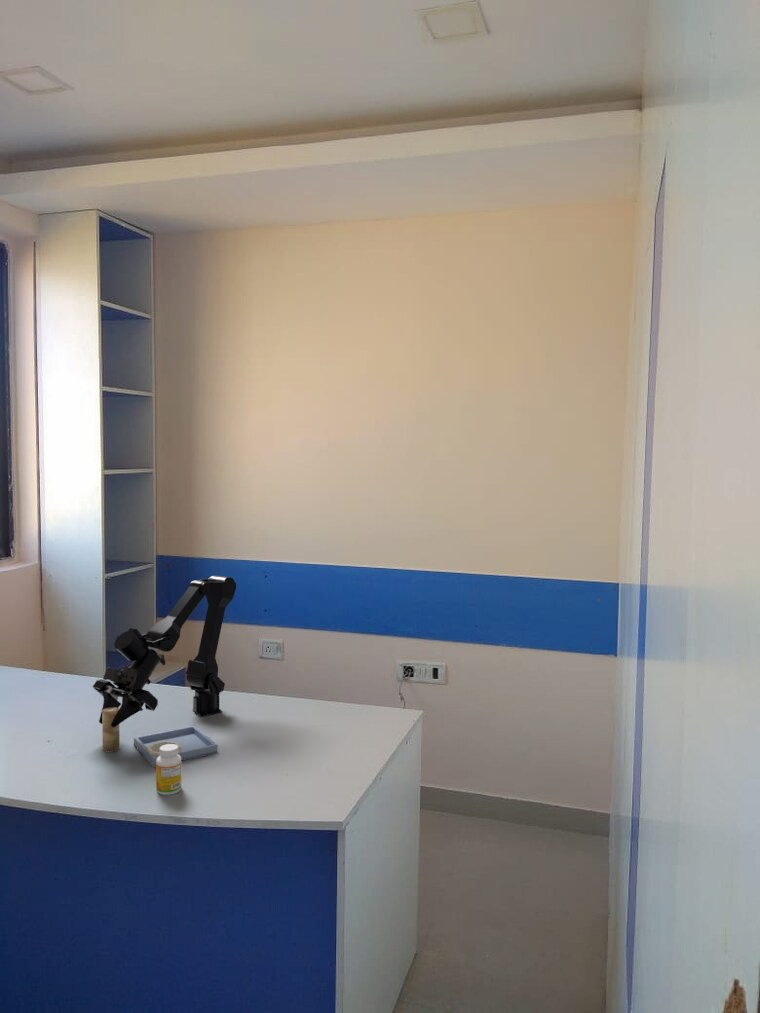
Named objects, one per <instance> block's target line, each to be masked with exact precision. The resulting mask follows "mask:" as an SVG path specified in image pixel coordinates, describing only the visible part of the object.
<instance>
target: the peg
mask: <svg viewBox="0 0 760 1013" xmlns="http://www.w3.org/2000/svg"><path fill="white" fill-rule="evenodd" d="M119 709H120V707H118V708H117V707H109V708H105V709H103V710H102V709H101V712H102V724H101V725H102V729H101V730H102V731H101V732H102V751H103V752H105V751H109V752H108V753H111V752H110V751H113V752H116V751H115V750H117V751H119V750H120V748H121V747H120V743H121V742H120V724H118V725H117V726H116V727H112V726H111V723H112V721H113V719H114V717H115V716H116V714H117V712H118V711H119Z"/></svg>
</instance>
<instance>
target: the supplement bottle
mask: <svg viewBox="0 0 760 1013" xmlns="http://www.w3.org/2000/svg"><path fill="white" fill-rule="evenodd" d="M159 753H160V756H159V757H158V758H157V760H156V766H155V770H156V771H155V777H156V778H155V779H156V780H155V781H156V782H155V784H156V786H155V787H156V788H155V789H156V790H155V791H156V792H157V793H158V794H159V795H164V796H168V795H169V796H170V795H174V794H177V793H179V792H180V791H181V790H182V787H183V786H182V782H183V781H182V779H183V778H182V761H181V757H180V755H178V746H177V745H175V744H166V745H163V746H161V747H160V749H159Z"/></svg>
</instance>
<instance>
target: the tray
mask: <svg viewBox="0 0 760 1013" xmlns="http://www.w3.org/2000/svg"><path fill="white" fill-rule="evenodd" d="M166 744H175V745H177V746H178V755H180V757H181V760H183V761H186V760H185V759H187V760H191V759H190V758H192V759H195V757H196V758H200V756H201V757H204V756H203V755H205V756H209V755H208V754H210V755H213V754H218V752H219V751H218V744H217V743H216V742H215V741H214V740H212V739H211V738H210V737H209V736H207V734H205V733H204V732H203V731H201V729H199V728H198V727H197V726H196V725H189V726H184V727H180V728H175V729H169V730H164V731H159V732H154V733H149V734H144V735H138V736H135V737H133V746H134V745H135V746H136V747H137V748H138V749H137V748H136V747H135V746H134V747H135V748H136V749H137V750H138V751H139V752H140V753H141V755H142V754H143V755H144V756H145V757H146V758H145V757H144V756H143V757H144V758H145V759H146V760H147V761H148V762H149V764H150V765H151V764H152V765H153V766H155V767H156V760H157V758H158V757H159V756H160V753H159V749H160V747H161V746H163V745H166ZM152 765H151V766H152ZM153 766H152V767H153Z"/></svg>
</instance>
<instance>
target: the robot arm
mask: <svg viewBox="0 0 760 1013" xmlns="http://www.w3.org/2000/svg"><path fill="white" fill-rule="evenodd" d="M236 589H237V583H236V582H235V579H234V578H233V577H230V576H223V575H219V574H218V575H216V574H213V575H211V576H210V577H209V578H201V579H196V580H195V579H194V580H192V581H191V582H190V584H189V585H188V588H187V590H186V591H185V592H184V593H183V594H182V595H181V597H180V598H179V599H178V601H177V602H176V603H175V605H174V606H173V608H172V609H171V610H170V612H169V613H168V614H167V616H166V617H164V618H163V619H161V620H159V621H158V622H156V623H155V624H154V625H153V626H151V628H150V629H149V630H147V632H146V633H143V634H142V633H140V631H139V630H138V629H137V628H136V627H129V629H128V630H127V631H124V632H122V633H121V634H119V635H118V636H117V637H116V638H115V640H114V643H113V645H114V648H115V649H116V650H117V651H118V653H120V654H121V655H122V656H123V657H125V659H127V660H128V661H129V662H132V663H131V665H130V666H129V667H128V666H125V667H123V669H118V668H113V667H110V666H106V669H105V672H104V675H103V678H102V679H96V681H95V682H94V684H93V685H92V688H93V689H94V691H96V692H97V693H98V694H99V695H101V696H102V698H103V703H102V707H101V712H100V717H99V721H98V722H99V723H100V724H101V725H102V710H103V709H105V708H109V707H117V708H119V711H118V712H117V714H116V716H115V717H114V719H113V721H112V723H111V726H112V727H116V726H117V725H118V724H119V725H120V724H121V723H123V722H124V721H126V720H127V719H128V718H130V717H132V716H133V715H136V714H137V713H138V712H142V711H144V709H143V706H144V707H145V709H146V710H149V711H152V712H154V711H155V710H156V708H157V707H158V705H159V704H158V703H159V701H158V698H156V696H154V694H152V692H150V691H149V690H147V689H143V688H144V687H145V686H146V685H150V684H151V683H152V681H151V680H150V677H151V676H152V674H153V672H155V670H156V668H157V666H159V665H161V666H166V660H165V655H164V654H161V653H158V652H157V651H161V652H164V653H165V652H166V653H167V652H172V651H173V649H174V648H175V646H176V645H177V642H178V641H179V639H180V637H181V629H182V628H183V627H184V625H185V623H186V622H187V621H188V620H189V618H190V616H191V615H192V614H193V612H194V611H195V609H196V608H197V607H198V605H199V604H200V603H201V601H202V600H203V599H204V598H205V599H206V602H207V609H206V613H205V619H204V623H203V630H202V634H201V638H200V643H199V648H198V653H197V655H196V656H195V657H194V659H189V660H188V663H187V669H186V672H185V675H186V681H187V683H188V684H189V687H190V691H194V696H192V697H193V698H192V705H193V706H192V707H193V708H192V711H193V712H194V713H196V714H197V715H198V716H200V717H204V716H209V715H215V714H219V713H220V714H221V713H222V712H223V711H222V709H220V694H221V693H222V692H224V689H225V686H226V684H225V682H224V681H223V680H222V679H221V678H220V677H219V676H218V675H219V674H218V673H219V666H218V662H217V660H216V655H217V651H218V646H219V640H220V635H221V630H222V627H223V623H224V622H223V621H224V616H225V612H226V608H227V607H228V605H230V603H231V602H232V600H233V598H234V597H235V592H236ZM156 650H157V651H156ZM119 697H120V698H121V702H120V701H119Z"/></svg>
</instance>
